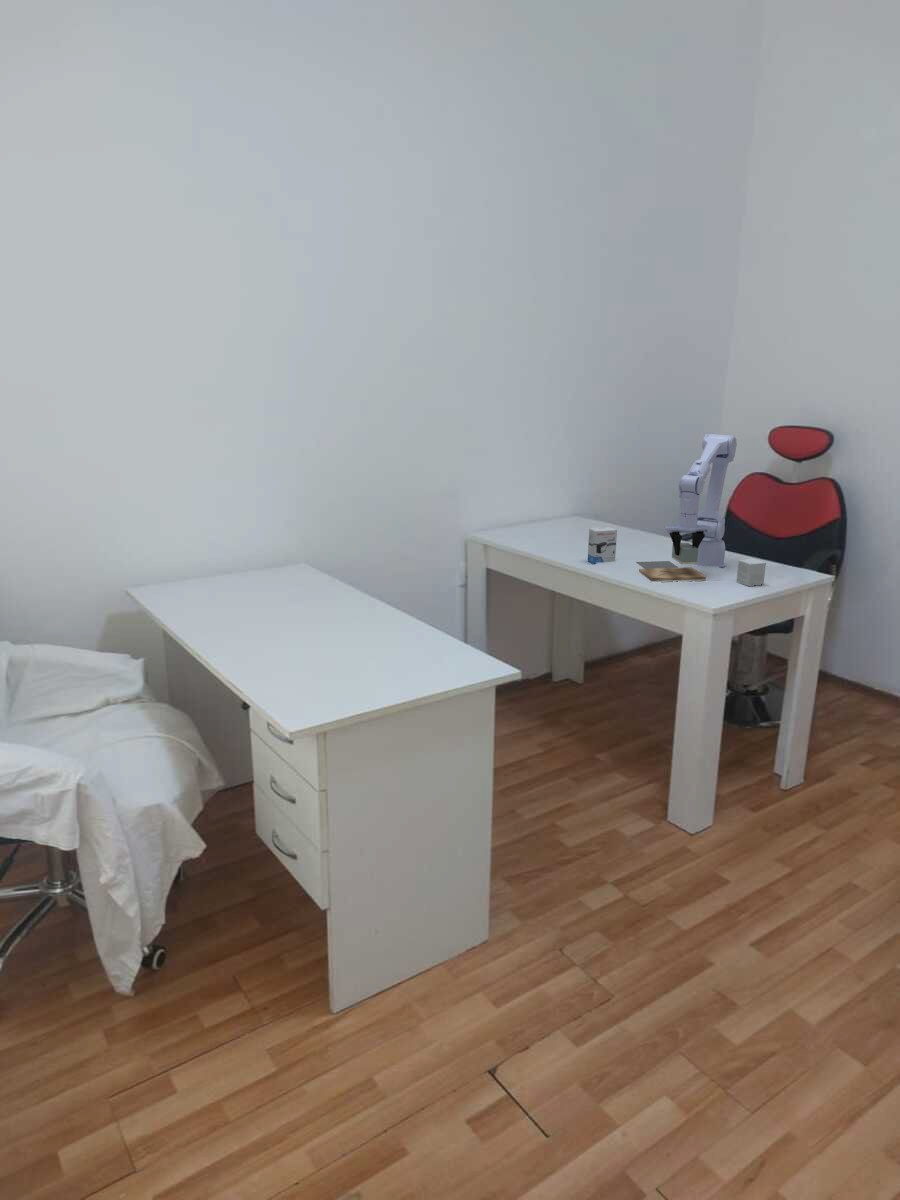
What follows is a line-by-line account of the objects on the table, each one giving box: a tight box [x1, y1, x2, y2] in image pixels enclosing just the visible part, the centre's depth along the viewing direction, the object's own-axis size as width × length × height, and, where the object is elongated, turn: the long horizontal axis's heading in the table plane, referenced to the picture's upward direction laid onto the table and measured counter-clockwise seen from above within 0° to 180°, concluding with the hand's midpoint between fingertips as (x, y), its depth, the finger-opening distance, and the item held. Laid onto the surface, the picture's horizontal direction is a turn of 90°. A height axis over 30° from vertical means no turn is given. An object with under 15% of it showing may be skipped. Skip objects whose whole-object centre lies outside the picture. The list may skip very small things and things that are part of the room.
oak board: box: [638, 566, 707, 583], centre depth 285 cm, size 18×12×2 cm, turn 97°
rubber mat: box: [635, 560, 680, 569], centre depth 298 cm, size 12×11×1 cm
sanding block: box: [671, 542, 698, 565], centre depth 284 cm, size 5×9×5 cm, turn 7°
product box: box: [736, 557, 767, 587], centre depth 278 cm, size 6×6×7 cm
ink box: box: [587, 526, 618, 565], centre depth 303 cm, size 8×5×12 cm, turn 105°
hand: (685, 554), depth 284 cm, fingers closed on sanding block, 5 cm apart
